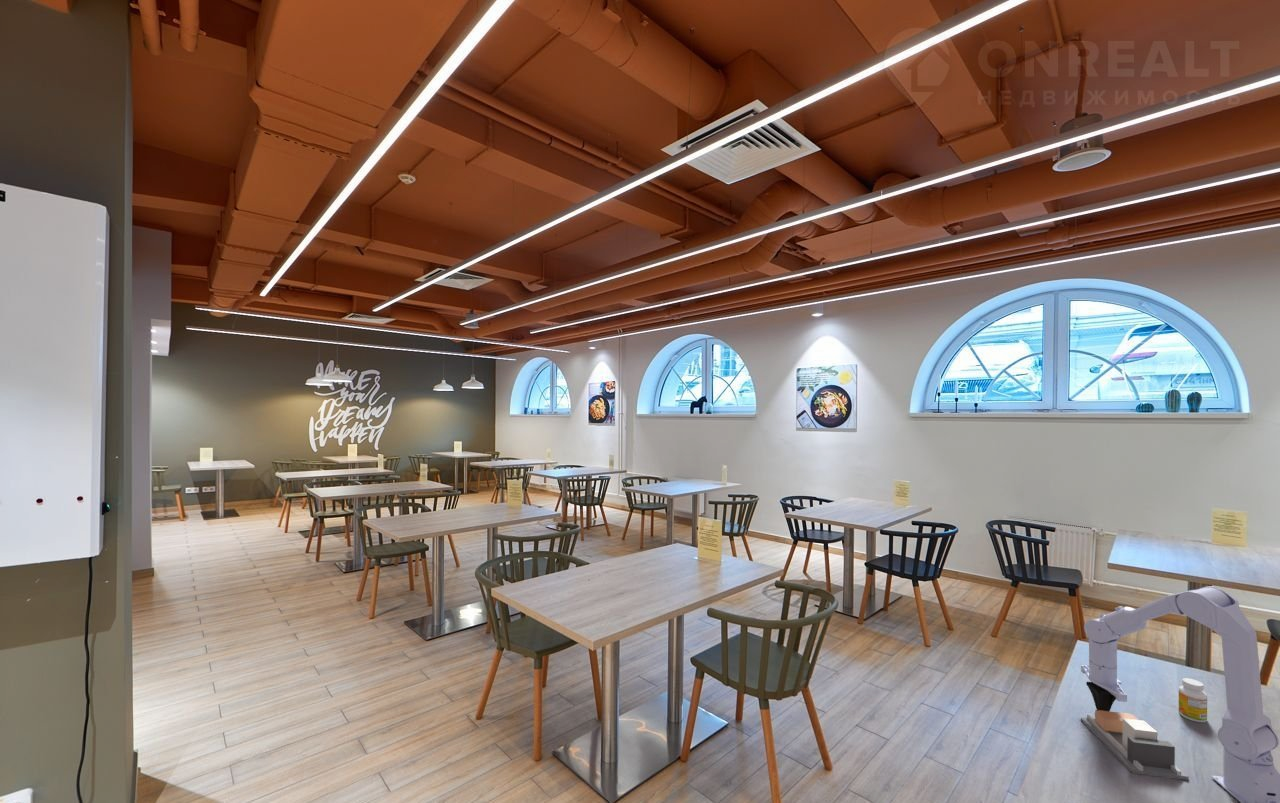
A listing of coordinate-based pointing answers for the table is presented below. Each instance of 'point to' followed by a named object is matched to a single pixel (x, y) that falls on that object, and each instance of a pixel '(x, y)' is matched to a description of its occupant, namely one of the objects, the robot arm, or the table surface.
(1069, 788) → the table surface
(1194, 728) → the table surface
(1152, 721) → the table surface
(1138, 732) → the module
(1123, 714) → the peach block
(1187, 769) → the table surface
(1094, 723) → the rail holder
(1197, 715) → the supplement bottle
